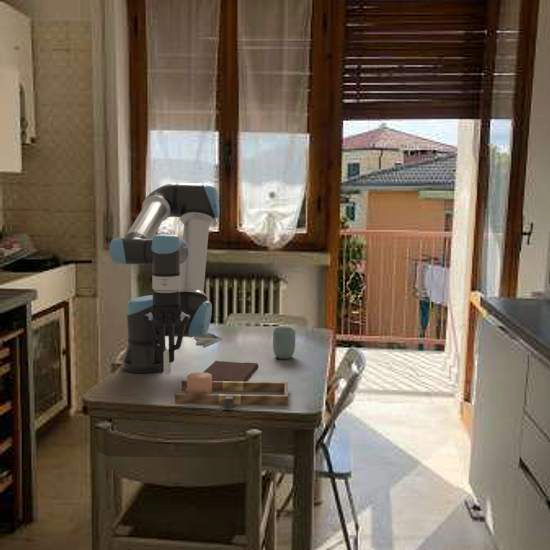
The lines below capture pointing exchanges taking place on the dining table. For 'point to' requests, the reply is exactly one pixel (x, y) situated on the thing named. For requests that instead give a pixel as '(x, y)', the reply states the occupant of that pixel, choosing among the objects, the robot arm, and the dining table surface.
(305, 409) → the dining table surface
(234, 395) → the track
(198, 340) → the cloth
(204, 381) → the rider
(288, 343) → the cup
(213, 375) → the notebook
